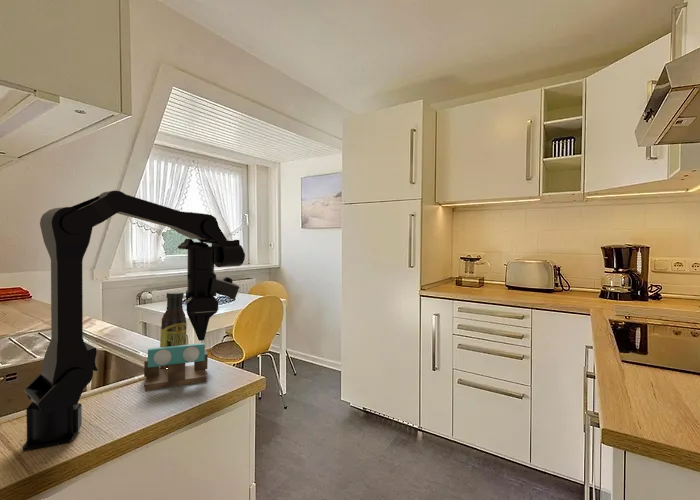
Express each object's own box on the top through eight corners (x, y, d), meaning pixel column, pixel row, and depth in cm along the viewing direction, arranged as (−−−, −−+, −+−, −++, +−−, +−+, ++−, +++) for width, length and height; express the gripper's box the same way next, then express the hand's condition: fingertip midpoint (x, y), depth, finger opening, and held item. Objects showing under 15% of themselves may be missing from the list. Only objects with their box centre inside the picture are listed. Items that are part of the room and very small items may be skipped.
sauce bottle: (166, 372, 91) (166, 295, 90) (155, 366, 94) (155, 292, 94) (190, 365, 96) (191, 292, 95) (179, 360, 100) (179, 289, 99)
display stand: (142, 390, 80) (142, 369, 79) (145, 376, 88) (145, 356, 88) (208, 381, 86) (208, 360, 86) (206, 368, 94) (206, 349, 94)
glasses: (147, 367, 80) (147, 350, 80) (150, 356, 87) (150, 340, 87) (204, 360, 86) (204, 344, 85) (202, 351, 93) (202, 335, 92)
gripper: (243, 271, 77) (242, 342, 78) (232, 264, 94) (231, 322, 95) (186, 273, 72) (186, 348, 73) (185, 265, 89) (185, 326, 90)
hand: (200, 334), depth 83 cm, fingers open, 9 cm apart
